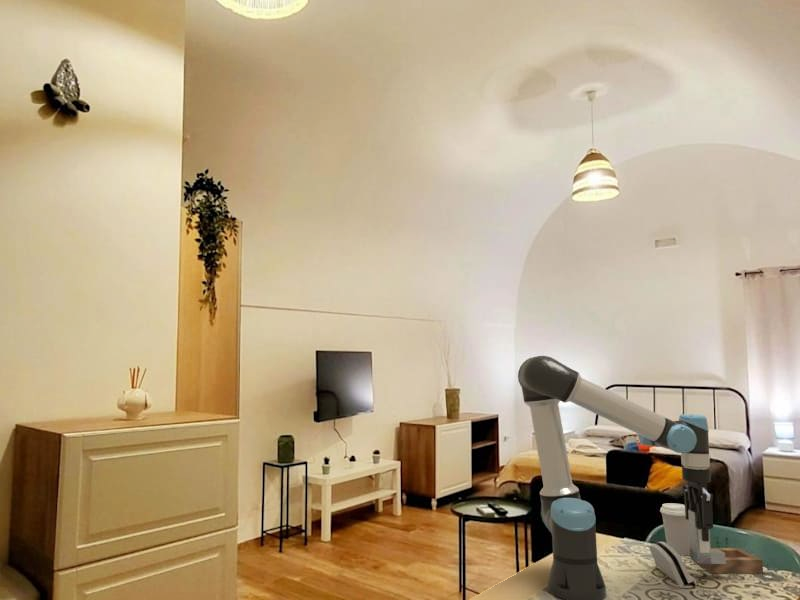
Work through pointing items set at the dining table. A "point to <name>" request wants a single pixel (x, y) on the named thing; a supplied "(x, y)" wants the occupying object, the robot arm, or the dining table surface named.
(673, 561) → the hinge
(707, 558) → the bracket
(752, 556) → the frame
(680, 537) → the coffee cup
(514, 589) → the dining table surface
